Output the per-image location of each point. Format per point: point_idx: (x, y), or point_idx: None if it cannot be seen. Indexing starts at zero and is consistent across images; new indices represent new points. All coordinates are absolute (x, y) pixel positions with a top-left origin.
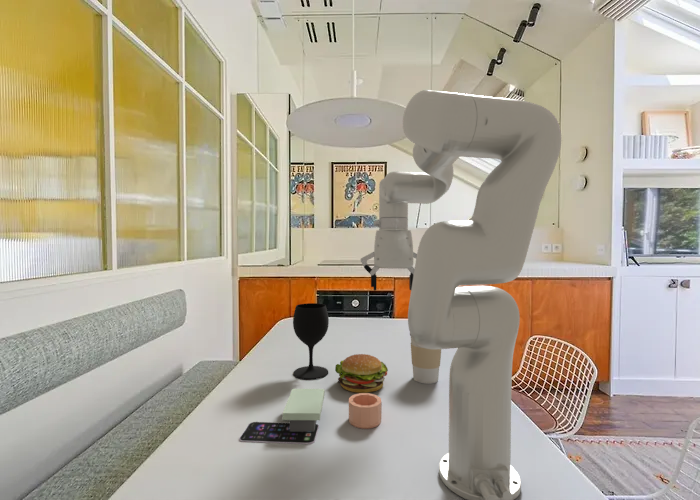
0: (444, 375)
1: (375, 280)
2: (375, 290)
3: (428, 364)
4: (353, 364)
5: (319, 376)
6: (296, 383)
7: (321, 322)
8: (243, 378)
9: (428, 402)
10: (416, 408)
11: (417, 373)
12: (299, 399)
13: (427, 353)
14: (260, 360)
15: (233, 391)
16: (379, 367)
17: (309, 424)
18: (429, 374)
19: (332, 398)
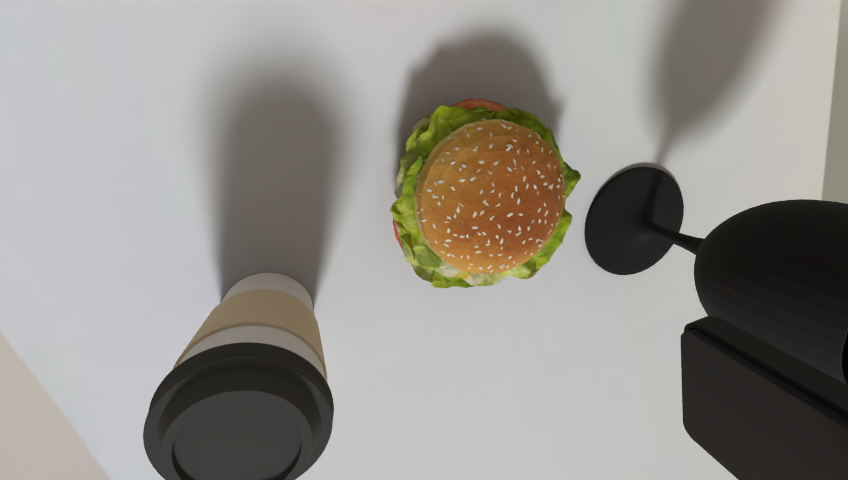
0: None
1: (822, 393)
2: (687, 325)
3: (237, 299)
4: (520, 140)
5: (605, 194)
6: (655, 131)
7: (774, 253)
8: (798, 117)
9: (215, 114)
10: (246, 51)
11: (289, 287)
12: None
13: (232, 316)
14: None
15: (801, 18)
16: (421, 185)
17: None
18: (240, 287)
19: (530, 51)
